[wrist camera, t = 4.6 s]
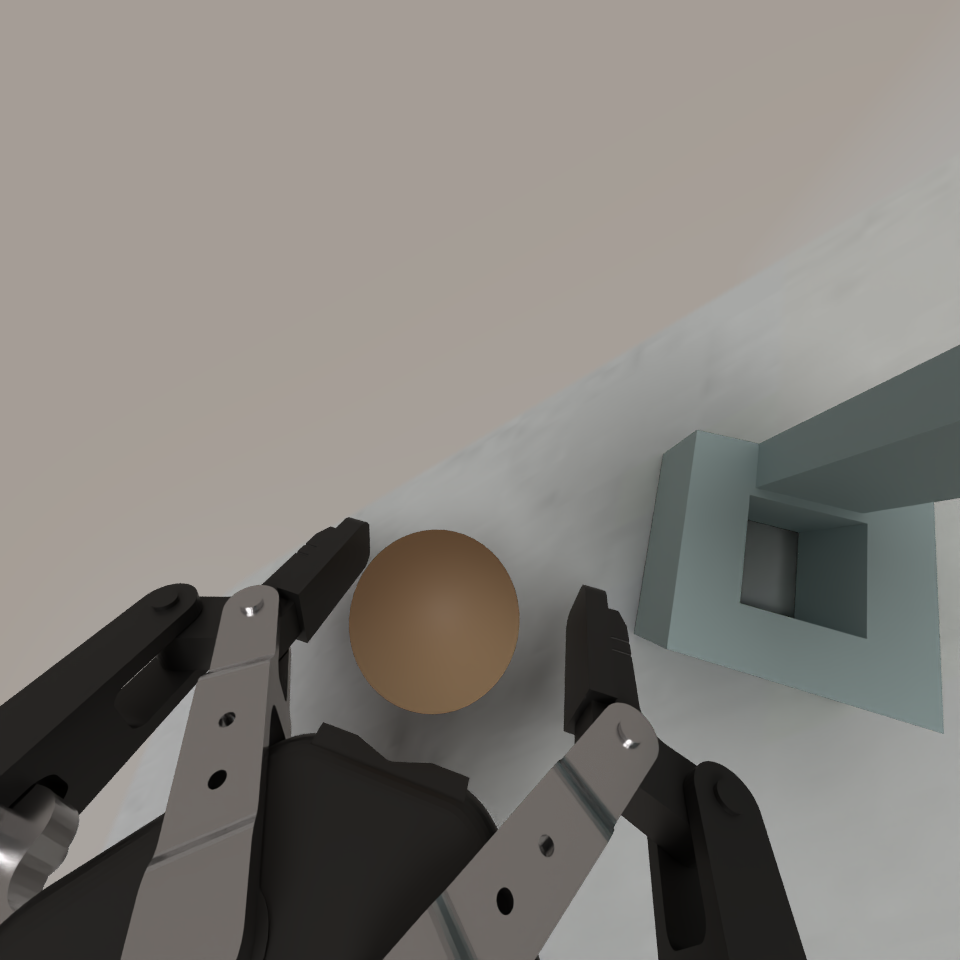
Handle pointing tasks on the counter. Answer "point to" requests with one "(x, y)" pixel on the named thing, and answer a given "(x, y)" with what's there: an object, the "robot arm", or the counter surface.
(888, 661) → the socket stand
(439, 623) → the peg
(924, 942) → the counter surface
